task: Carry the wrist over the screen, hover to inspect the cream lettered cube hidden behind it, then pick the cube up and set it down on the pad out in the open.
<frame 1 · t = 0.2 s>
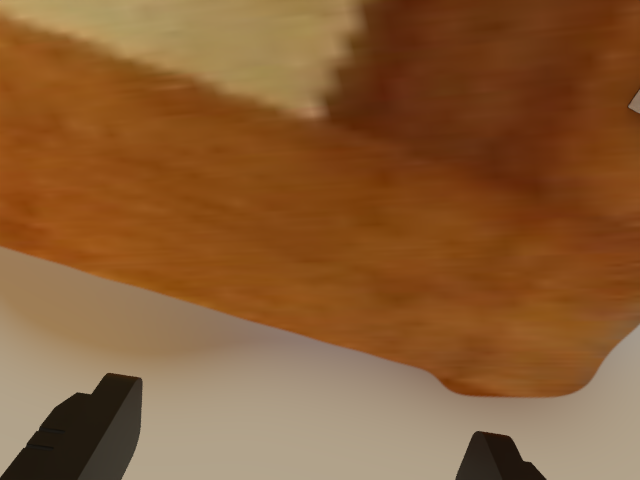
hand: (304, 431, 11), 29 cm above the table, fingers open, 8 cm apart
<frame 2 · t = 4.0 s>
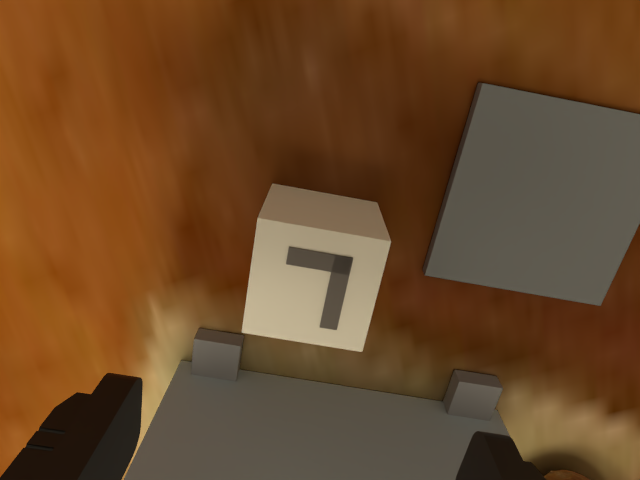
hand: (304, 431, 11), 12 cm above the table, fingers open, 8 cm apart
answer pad: (541, 200, 21), on the table
letter cube: (315, 240, 22), on the table
screen: (339, 396, 26), on the table
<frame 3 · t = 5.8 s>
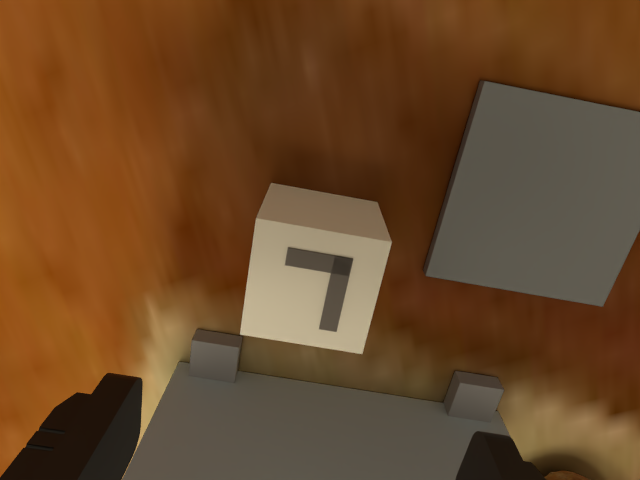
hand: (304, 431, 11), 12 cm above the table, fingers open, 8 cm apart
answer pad: (543, 200, 21), on the table
letter cube: (315, 241, 22), on the table
screen: (339, 397, 25), on the table
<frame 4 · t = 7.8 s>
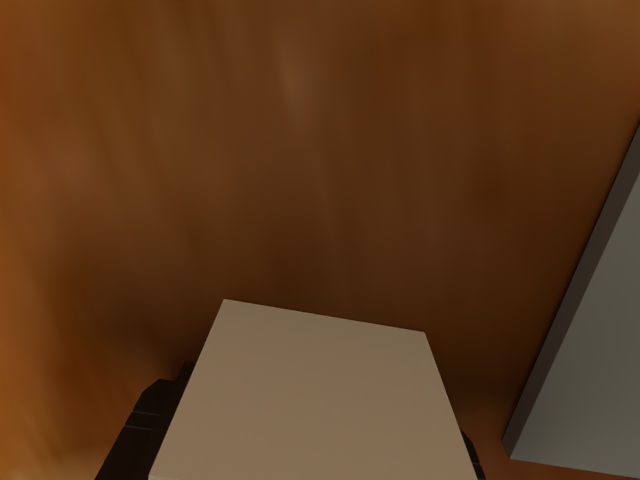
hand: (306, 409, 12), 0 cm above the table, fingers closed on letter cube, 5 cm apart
letter cube: (307, 395, 12), on the table, touching gripper
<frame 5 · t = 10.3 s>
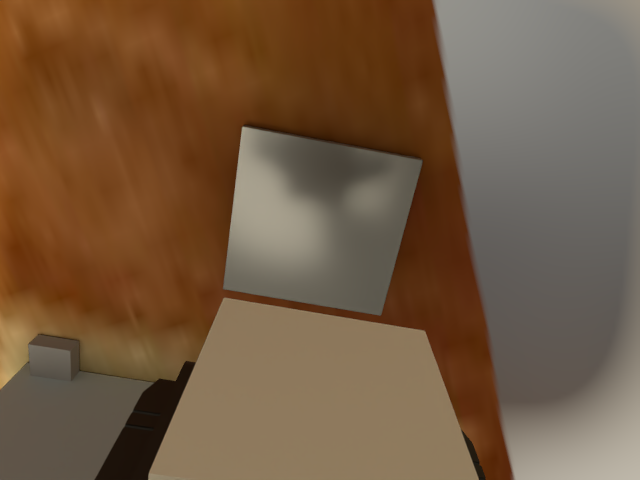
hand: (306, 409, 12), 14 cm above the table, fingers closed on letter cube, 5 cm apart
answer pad: (317, 224, 24), on the table
letter cube: (308, 394, 12), point 13 cm above the table, touching gripper
screen: (172, 394, 29), on the table
when the fingers open (2 cm above the table, at t = 12.8 s): letter cube stays where it is, resting on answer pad.
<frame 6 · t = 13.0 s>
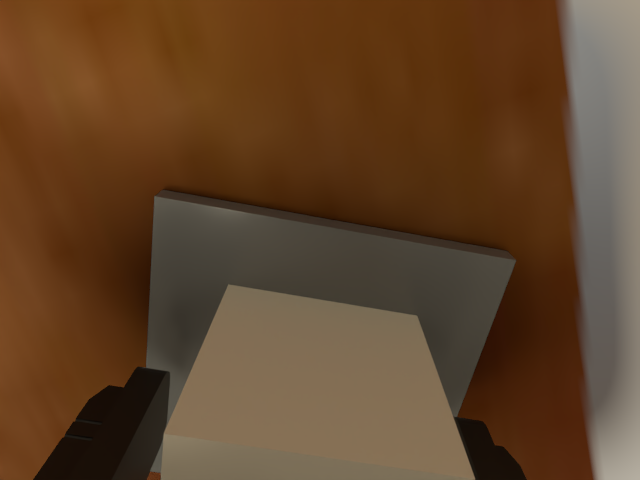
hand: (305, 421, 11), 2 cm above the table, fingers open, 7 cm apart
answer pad: (308, 363, 13), on the table
letter cube: (307, 377, 13), point 1 cm above the table, touching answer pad
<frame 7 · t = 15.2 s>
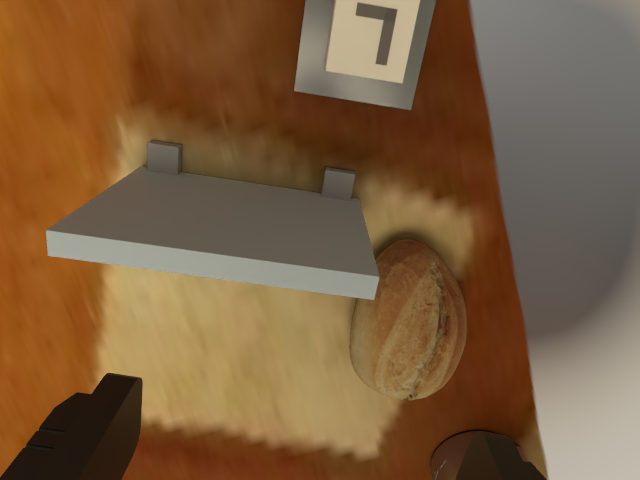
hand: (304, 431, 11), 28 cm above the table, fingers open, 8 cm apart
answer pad: (363, 36, 33), on the table
letter cube: (364, 36, 33), point 1 cm above the table, touching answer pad
bread roll: (399, 304, 42), on the table
screen: (250, 191, 38), on the table
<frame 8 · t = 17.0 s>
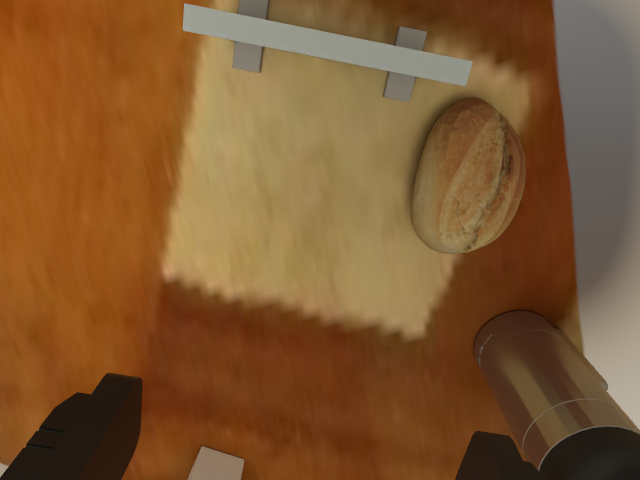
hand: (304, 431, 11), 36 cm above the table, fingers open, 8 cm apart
bread roll: (455, 173, 45), on the table
screen: (328, 50, 41), on the table
milk: (216, 466, 60), on the table
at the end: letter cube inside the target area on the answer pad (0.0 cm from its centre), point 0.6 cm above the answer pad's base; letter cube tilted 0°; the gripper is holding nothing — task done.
